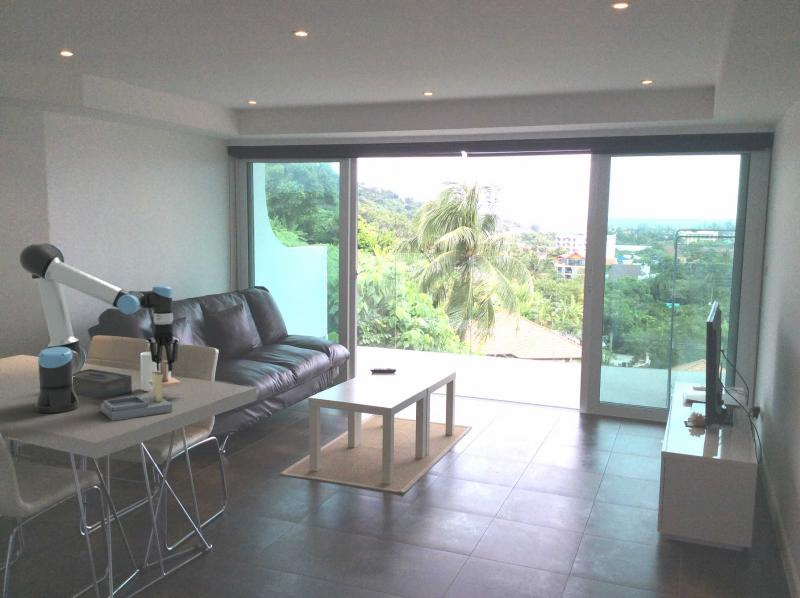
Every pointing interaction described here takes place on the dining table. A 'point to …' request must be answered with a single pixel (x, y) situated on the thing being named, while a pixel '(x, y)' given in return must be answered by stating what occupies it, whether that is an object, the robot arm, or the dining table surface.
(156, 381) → the key
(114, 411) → the housing
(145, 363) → the cup
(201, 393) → the dining table surface
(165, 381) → the cover
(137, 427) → the dining table surface
